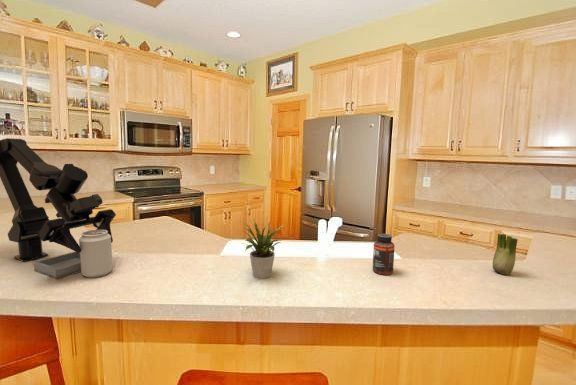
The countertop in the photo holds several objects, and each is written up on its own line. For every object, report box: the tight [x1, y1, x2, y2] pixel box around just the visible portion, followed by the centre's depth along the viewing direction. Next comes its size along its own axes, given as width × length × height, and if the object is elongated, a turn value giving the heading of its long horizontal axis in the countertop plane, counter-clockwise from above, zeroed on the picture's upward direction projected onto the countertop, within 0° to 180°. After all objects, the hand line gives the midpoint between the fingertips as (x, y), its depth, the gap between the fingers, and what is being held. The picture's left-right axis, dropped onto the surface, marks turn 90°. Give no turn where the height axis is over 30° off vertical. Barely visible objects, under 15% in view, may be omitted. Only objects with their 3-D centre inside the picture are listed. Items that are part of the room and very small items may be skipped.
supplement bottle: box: [372, 233, 395, 276], centre depth 90 cm, size 6×6×11 cm
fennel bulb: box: [492, 233, 518, 276], centre depth 92 cm, size 6×5×12 cm
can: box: [78, 229, 114, 279], centre depth 85 cm, size 8×8×12 cm
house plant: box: [238, 219, 285, 279], centre depth 86 cm, size 14×14×16 cm
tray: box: [33, 251, 81, 280], centre depth 89 cm, size 12×12×2 cm
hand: (96, 246), depth 84 cm, fingers open, 9 cm apart
